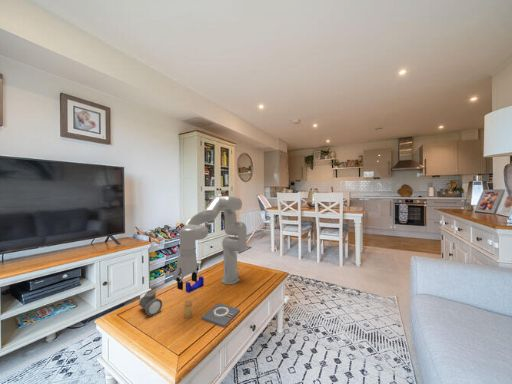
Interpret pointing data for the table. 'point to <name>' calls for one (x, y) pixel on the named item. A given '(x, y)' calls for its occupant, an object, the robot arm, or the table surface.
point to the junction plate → (220, 314)
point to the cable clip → (195, 285)
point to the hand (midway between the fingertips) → (187, 285)
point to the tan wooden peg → (187, 309)
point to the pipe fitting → (151, 303)
